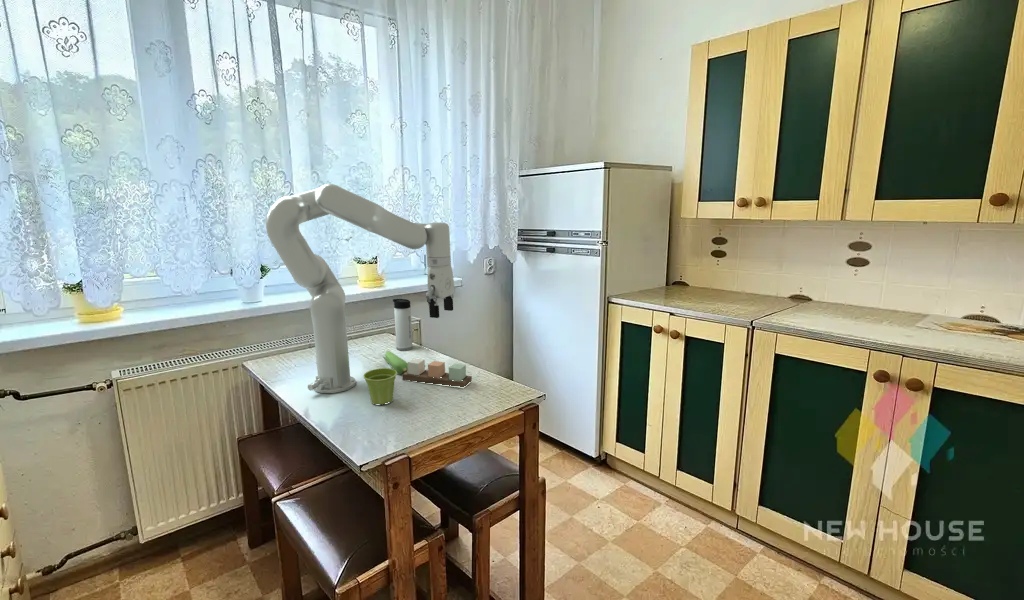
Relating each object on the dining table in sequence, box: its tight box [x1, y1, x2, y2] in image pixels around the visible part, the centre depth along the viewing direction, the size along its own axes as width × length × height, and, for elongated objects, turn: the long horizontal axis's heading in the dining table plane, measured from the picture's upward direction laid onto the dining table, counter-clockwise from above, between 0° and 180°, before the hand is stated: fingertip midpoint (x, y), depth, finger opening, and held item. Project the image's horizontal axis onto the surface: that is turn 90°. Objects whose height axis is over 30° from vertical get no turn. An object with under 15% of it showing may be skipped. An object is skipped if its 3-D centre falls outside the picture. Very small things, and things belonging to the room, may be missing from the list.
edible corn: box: [382, 350, 408, 376], centre depth 171 cm, size 5×20×5 cm
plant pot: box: [362, 367, 397, 405], centre depth 142 cm, size 9×9×9 cm
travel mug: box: [392, 298, 414, 352], centre depth 190 cm, size 6×7×20 cm
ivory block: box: [406, 358, 426, 376], centre depth 160 cm, size 4×4×4 cm
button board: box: [401, 369, 473, 387], centre depth 158 cm, size 6×22×2 cm, turn 70°
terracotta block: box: [427, 360, 446, 379], centre depth 158 cm, size 4×4×4 cm
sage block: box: [448, 363, 467, 382], centre depth 155 cm, size 4×4×4 cm
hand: (441, 313), depth 160 cm, fingers open, 9 cm apart
